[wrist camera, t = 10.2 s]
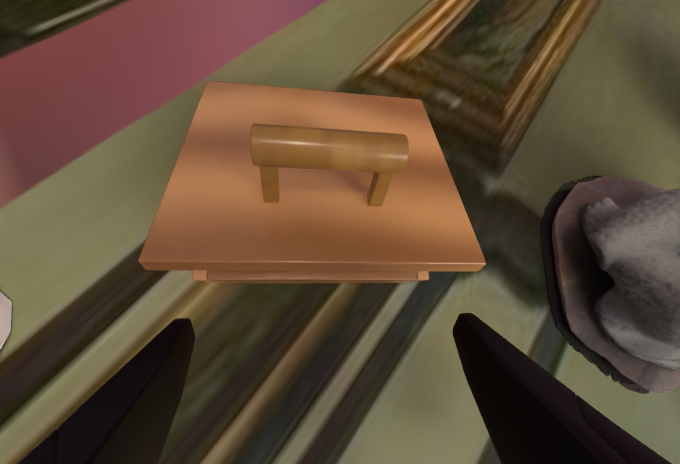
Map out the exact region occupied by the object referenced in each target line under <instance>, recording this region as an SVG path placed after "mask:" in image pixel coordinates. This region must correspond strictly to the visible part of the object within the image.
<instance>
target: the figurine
mask: <svg viewBox="0 0 680 464" xmlns="http://www.w3.org/2000/svg"><path fill="white" fill-rule="evenodd" d="M11 314H12V301H10V300H9V299H8V298H7V297H6V296H5V295H4V294H3V293H2V292H0V349H1V348H2V346H3V344H4V342H5V341H6V339H7V337H8V336H9V334H10V332H11Z"/></svg>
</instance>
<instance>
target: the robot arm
mask: <svg viewBox="0 0 680 464" xmlns="http://www.w3.org/2000/svg"><path fill="white" fill-rule="evenodd" d="M453 337H454V340H455V343H456V347H457V350H458V353H459V357H460V360H461V363H462V367H463V370H464V373H465V376H466V379H467V382H468V384H469V387H470V389H471V391H472V394H473V396H474V399H475V401H476V404H477V406H478V408H479V411H480V413H481V416H482V418H483V421H484V423H485V426H486V428H487V430H488V433H489V435H490V438H491V440H492V443H493V445H494V447H495V450H496V452H497V455H498V457H499V460H500V462H501V464H671V463H670V462H668V461H667V460H666V459H664V458H663V457H661V456H660V455H658V454H657V453H656V452H654V451H653V450H651V449H650V448H648V447H647V446H646V445H644V444H643V443H641V442H640V441H638V440H637V439H636V438H634V437H633V436H631V435H630V434H629V433H627V432H626V431H624V430H623V429H622V428H620V427H619V426H617V425H616V424H615V423H613V422H612V421H610V420H609V419H608V418H606V417H605V416H604V415H603V414H601V413H600V412H599V411H597V410H596V409H595V408H593V407H592V406H591V405H589V404H588V403H587V402H586V401H584V400H583V399H582V398H580V397H579V396H578V395H575V393H574V392H573V391H571V390H570V389H569V388H567V387H566V386H565V385H564V384H562V383H561V382H560V381H558V380H557V379H556V378H555V377H553V376H552V375H551V374H549V373H548V372H547V371H546V370H544V369H543V368H542V367H540V366H539V365H538V364H537V363H535V362H534V361H533V360H532V359H530V358H529V357H528V356H526V355H525V354H524V353H523V352H521V351H520V350H519V349H517V348H516V347H515V346H514V345H512V344H511V343H510V342H508V341H507V340H506V339H505V338H503V337H502V336H501V335H499V334H498V333H497V332H496V331H494V330H493V329H492V328H490V327H489V326H488V325H487V324H485V323H484V322H483V321H481V320H480V319H479V318H478V317H476V316H475V315H474V314H472V313H461V314H460V315H459V316H458V318H457V320H456V323H455V325H454V327H453ZM194 342H195V334H194V331H193V327H192V323H191V320H190V319H188V318H178V319H175V320H173V321H172V322H171V323H170V324H169V325H168V326H167V327H165V328H164V329H163V330H162V331H161V332H160V333H159V334H158V335H157V336H156V337H155V338H154V339H152V340H151V341H150V342H149V343H148V344H147V345H146V346H145V347H144V348H143V349H142V350H140V351H139V352H138V353H137V354H136V355H135V356H134V357H133V358H132V359H131V360H130V361H129V362H127V363H126V364H125V365H124V366H123V367H122V368H121V369H120V370H119V371H118V372H117V373H116V374H114V375H113V376H112V377H111V378H110V379H109V380H108V381H107V382H106V383H105V384H104V385H103V386H101V387H100V388H99V389H98V390H97V391H96V392H95V393H94V394H93V395H92V396H91V397H90V398H88V399H87V400H86V401H85V402H84V403H83V404H82V405H81V406H80V407H79V408H78V409H77V410H75V411H74V412H73V413H72V414H71V415H70V416H69V417H68V418H67V419H66V420H65V421H63V422H62V423H61V424H60V425H59V427H58V429H55V430H54V431H52V432H51V433H50V434H49V435H48V436H47V437H46V438H45V439H44V440H43V441H42V442H41V443H39V444H38V445H37V446H36V447H35V448H34V449H33V450H32V451H31V452H29V453H28V454H27V455H26V456H25V457H24V458H23V459H22V460H20V461H19V462H18V463H17V464H158V462H159V459H160V456H161V453H162V450H163V448H164V445H165V442H166V439H167V436H168V433H169V430H170V428H171V425H172V422H173V419H174V416H175V413H176V410H177V408H178V405H179V402H180V399H181V396H182V393H183V389H184V385H185V381H186V377H187V372H188V368H189V364H190V359H191V355H192V351H193V347H194Z"/></svg>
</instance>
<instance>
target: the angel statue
mask: <svg viewBox="0 0 680 464" xmlns="http://www.w3.org/2000/svg"><path fill="white" fill-rule="evenodd" d="M584 178H585V179H584ZM584 178H582V179H581V180H578V182H574V181H571V182H570V183H569V184H568V183H567V184H564V185H563V186H562V187H561V188H560V189H559V191H558V193H557V192H556V194H554V196H552V198H551V199H550V201H549V202H548V207H546V208H545V211H544V213H545V214H544V216H543V217H542V220H541V241H542V248H543V257H544V264H545V274H546V277H547V283H548V289H549V290H548V292H549V298H550V299H551V300H550V303H551V305H552V308H551V311H552V312H553V315H554V316H555V321H556V327H557V328H558V331H559V330H561V332H562V335H563V336H564V337H565V339H567V340H568V341H569V343H570V345H572V346H573V347H574V349H575V350H576V351H578V352H581V353H582V354H583V355H584V356H585V357H586V358H589V361H590V362H591V363H594V364H595V365H598V367H599V368H600V369H601V371H603V373H604V374H605V375H606V376H608V375H610V374H611V375H613V376H612V377H614V382H617V381H619V380H620V379H621V381H622V383H621V385H623V386H624V387H626V388H627V389H628V388H629V389H630V390H633V391H635V392H636V390H637V389H639V390H640V393H643V394H644V393H649V391H654V392H656V393H661V392H665V391H668V390H671V389H673V388H676V387H679V386H680V189H672V190H667V191H665V190H663V189H661V188H658V187H655V186H653V185H651V184H649V183H647V182H645V181H641V180H634V179H627V178H620V177H613V176H592V177H590V176H588V177H584ZM557 323H559V324H560V326H558V325H557ZM564 334H565V335H564ZM638 393H639V391H638Z"/></svg>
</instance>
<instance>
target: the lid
mask: <svg viewBox="0 0 680 464" xmlns="http://www.w3.org/2000/svg"><path fill="white" fill-rule="evenodd" d="M139 263H140V264H141V265H142V266H143V267H144V268H145V269H146V270H243V271H479V270H480V269H481V268H482V267H483V266H485V265H486V261H485V258H484V256H483V253H482V251H481V248H480V246H479V243H478V241H477V238H476V236H475V233H474V231H473V228H472V226H471V223H470V221H469V218H468V216H467V213H466V211H465V208H464V206H463V203H462V201H461V198H460V196H459V193H458V191H457V188H456V186H455V183H454V181H453V178H452V176H451V173H450V171H449V168H448V166H447V163H446V161H445V158H444V156H443V153H442V151H441V148H440V146H439V143H438V141H437V138H436V136H435V133H434V131H433V128H432V126H431V123H430V121H429V118H428V116H427V113H426V111H425V108H424V106H423V103H422V101H421V100H418V99H407V98H396V97H385V96H374V95H363V94H352V93H341V92H329V91H318V90H307V89H296V88H285V87H274V86H263V85H252V84H241V83H230V82H219V81H207V83H206V86H205V88H204V91H203V93H202V96H201V99H200V101H199V104H198V106H197V109H196V112H195V114H194V117H193V119H192V122H191V125H190V127H189V130H188V132H187V135H186V138H185V140H184V143H183V145H182V148H181V151H180V153H179V156H178V159H177V161H176V164H175V166H174V169H173V172H172V174H171V177H170V179H169V182H168V185H167V187H166V190H165V192H164V195H163V198H162V200H161V203H160V205H159V208H158V211H157V213H156V216H155V218H154V221H153V224H152V226H151V229H150V231H149V234H148V237H147V239H146V242H145V244H144V247H143V250H142V252H141V255H140V257H139Z"/></svg>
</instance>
